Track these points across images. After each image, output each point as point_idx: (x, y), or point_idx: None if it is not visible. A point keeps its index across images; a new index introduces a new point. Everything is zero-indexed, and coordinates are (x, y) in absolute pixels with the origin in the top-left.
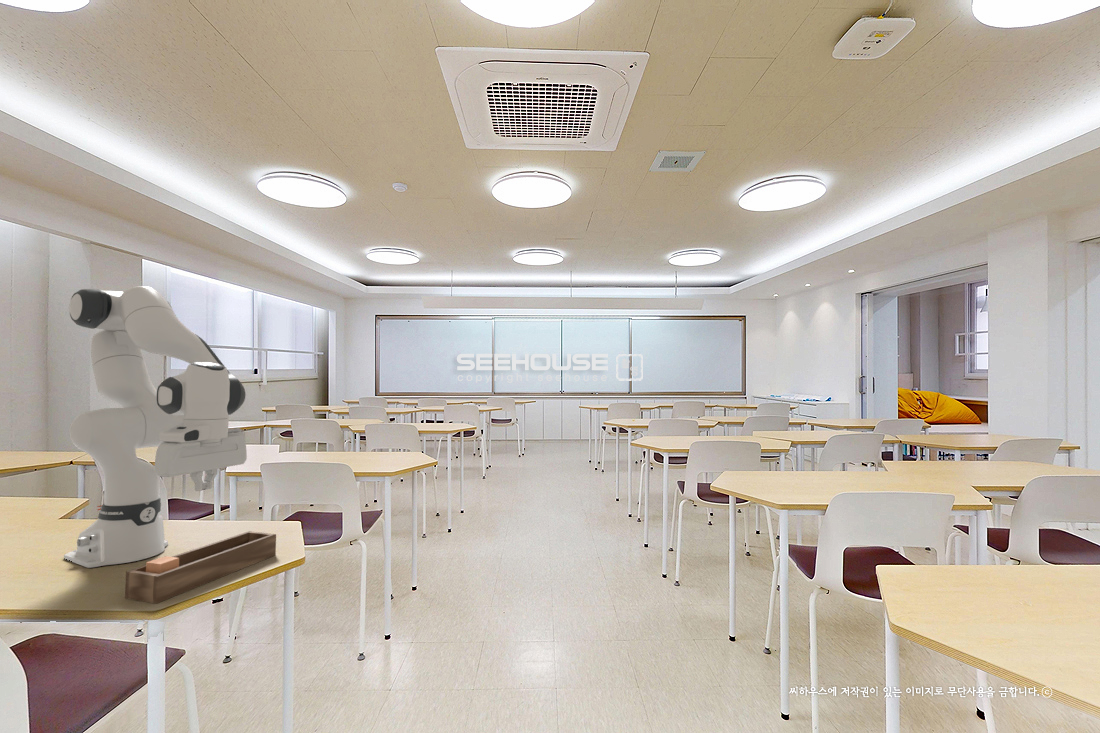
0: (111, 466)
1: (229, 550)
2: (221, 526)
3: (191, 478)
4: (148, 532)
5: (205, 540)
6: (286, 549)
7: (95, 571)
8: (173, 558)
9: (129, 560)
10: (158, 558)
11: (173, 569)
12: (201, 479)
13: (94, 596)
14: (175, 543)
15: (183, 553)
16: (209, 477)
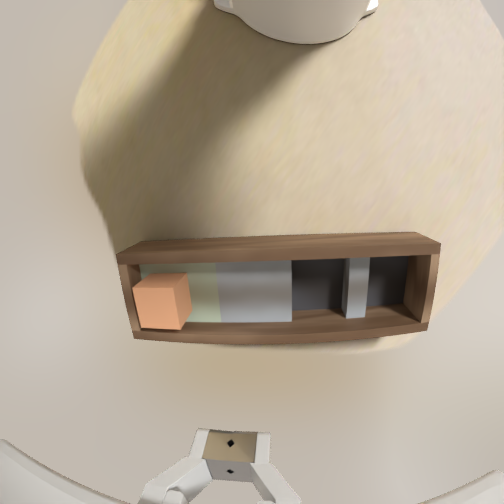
0: None
1: (298, 341)
2: (481, 32)
3: (159, 474)
4: (313, 4)
5: (431, 59)
6: (441, 293)
7: (209, 29)
8: (172, 321)
9: (266, 33)
10: (156, 289)
11: (165, 335)
12: (196, 495)
13: (128, 173)
14: (389, 16)
15: (240, 256)
16: (262, 492)
